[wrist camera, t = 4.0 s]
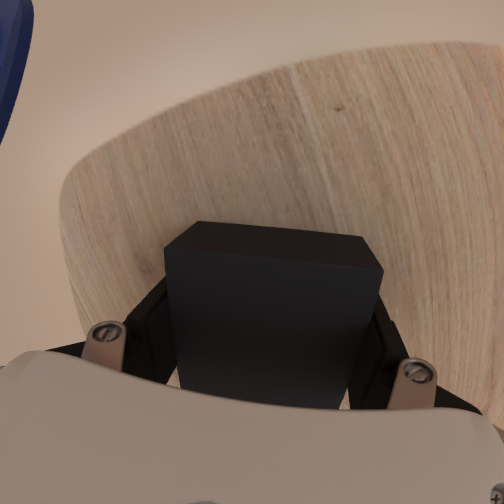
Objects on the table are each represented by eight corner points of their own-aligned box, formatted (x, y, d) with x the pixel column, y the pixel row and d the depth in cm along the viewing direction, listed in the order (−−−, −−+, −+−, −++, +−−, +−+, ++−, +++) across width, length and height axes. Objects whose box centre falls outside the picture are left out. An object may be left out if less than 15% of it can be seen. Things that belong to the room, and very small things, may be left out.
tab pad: (204, 379, 14) (187, 423, 11) (197, 220, 11) (162, 247, 8) (323, 394, 14) (323, 442, 11) (362, 236, 10) (384, 270, 7)
